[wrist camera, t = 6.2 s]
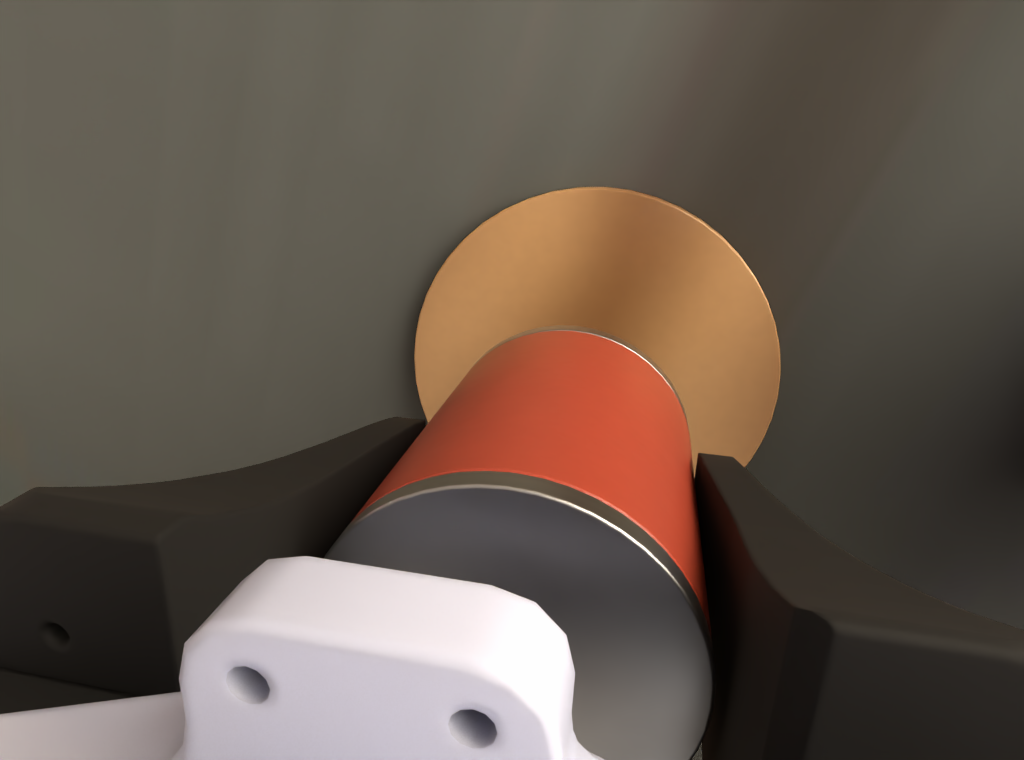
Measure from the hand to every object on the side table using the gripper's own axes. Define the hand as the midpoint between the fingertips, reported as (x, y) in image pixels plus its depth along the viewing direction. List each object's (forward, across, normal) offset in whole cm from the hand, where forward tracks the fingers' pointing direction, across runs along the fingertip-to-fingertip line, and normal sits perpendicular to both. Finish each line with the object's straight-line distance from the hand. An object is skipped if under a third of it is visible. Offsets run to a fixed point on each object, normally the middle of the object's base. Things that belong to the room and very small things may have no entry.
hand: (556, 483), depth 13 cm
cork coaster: (+7, 0, 0) cm, 7 cm away
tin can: (+2, 0, 0) cm, 2 cm away
